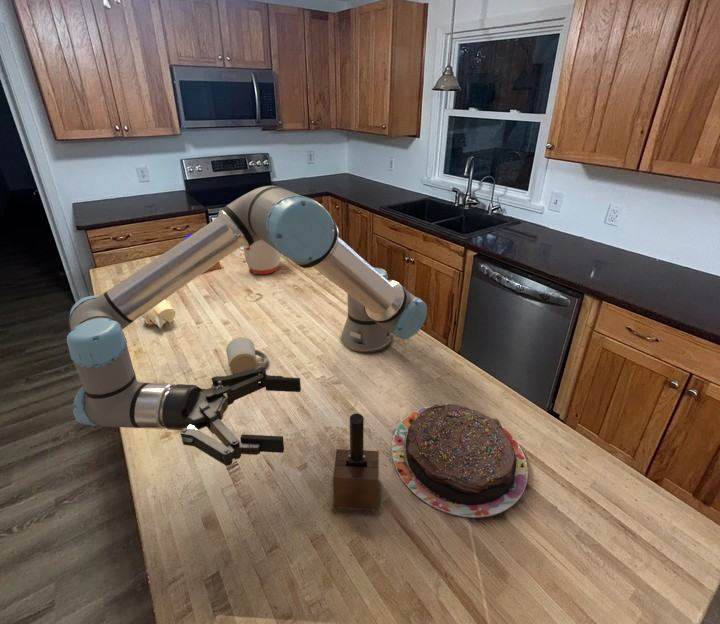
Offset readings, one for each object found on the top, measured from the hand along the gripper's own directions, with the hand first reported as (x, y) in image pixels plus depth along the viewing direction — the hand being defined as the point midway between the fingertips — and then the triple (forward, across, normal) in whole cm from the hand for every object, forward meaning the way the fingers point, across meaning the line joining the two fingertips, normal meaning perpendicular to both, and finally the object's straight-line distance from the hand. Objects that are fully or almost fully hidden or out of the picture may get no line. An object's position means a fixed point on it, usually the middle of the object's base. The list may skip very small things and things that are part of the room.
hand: (292, 412), depth 67 cm
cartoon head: (-60, -59, -21) cm, 86 cm away
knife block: (+11, 0, -20) cm, 23 cm away
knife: (+11, 0, -19) cm, 22 cm away
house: (-65, -105, -20) cm, 126 cm away
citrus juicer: (-36, -101, -20) cm, 109 cm away
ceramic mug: (-22, -37, -20) cm, 48 cm away
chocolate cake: (+32, -10, -20) cm, 39 cm away
